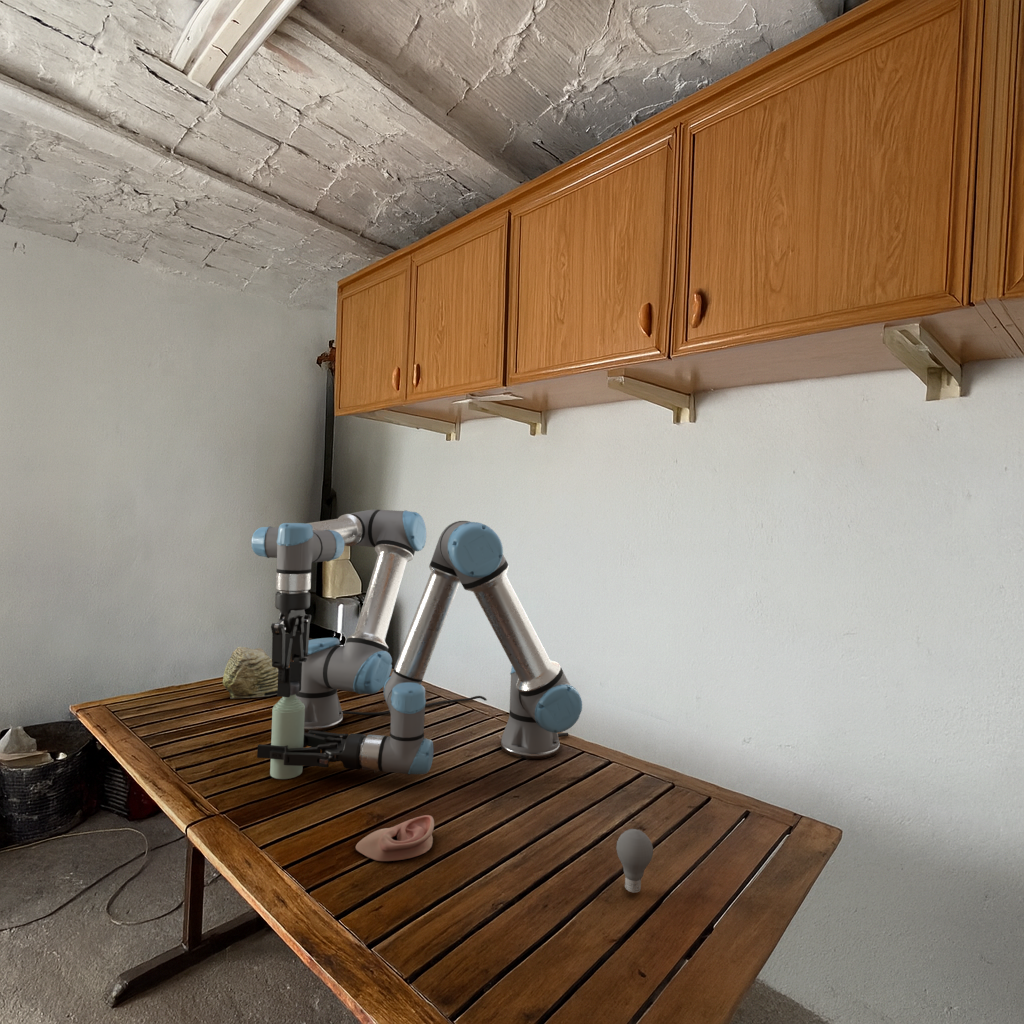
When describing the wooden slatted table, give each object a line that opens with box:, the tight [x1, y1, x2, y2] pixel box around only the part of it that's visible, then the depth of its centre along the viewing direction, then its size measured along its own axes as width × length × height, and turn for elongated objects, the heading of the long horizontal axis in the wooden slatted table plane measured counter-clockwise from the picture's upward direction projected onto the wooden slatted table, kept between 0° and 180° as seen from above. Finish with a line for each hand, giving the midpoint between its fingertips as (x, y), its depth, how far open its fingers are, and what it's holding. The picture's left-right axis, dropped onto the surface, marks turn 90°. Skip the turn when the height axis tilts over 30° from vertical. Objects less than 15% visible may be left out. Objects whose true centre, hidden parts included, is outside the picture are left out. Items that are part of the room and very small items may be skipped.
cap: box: [290, 681, 299, 695], centre depth 144 cm, size 4×4×2 cm
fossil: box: [222, 646, 278, 699], centre depth 198 cm, size 9×18×15 cm, turn 132°
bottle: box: [269, 695, 305, 780], centre depth 144 cm, size 7×7×20 cm
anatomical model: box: [355, 814, 435, 862], centre depth 116 cm, size 13×4×12 cm
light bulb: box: [615, 828, 654, 894], centre depth 106 cm, size 6×6×10 cm
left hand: (289, 693), depth 144 cm, fingers closed on cap, 4 cm apart
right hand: (266, 744), depth 145 cm, fingers closed on bottle, 7 cm apart
